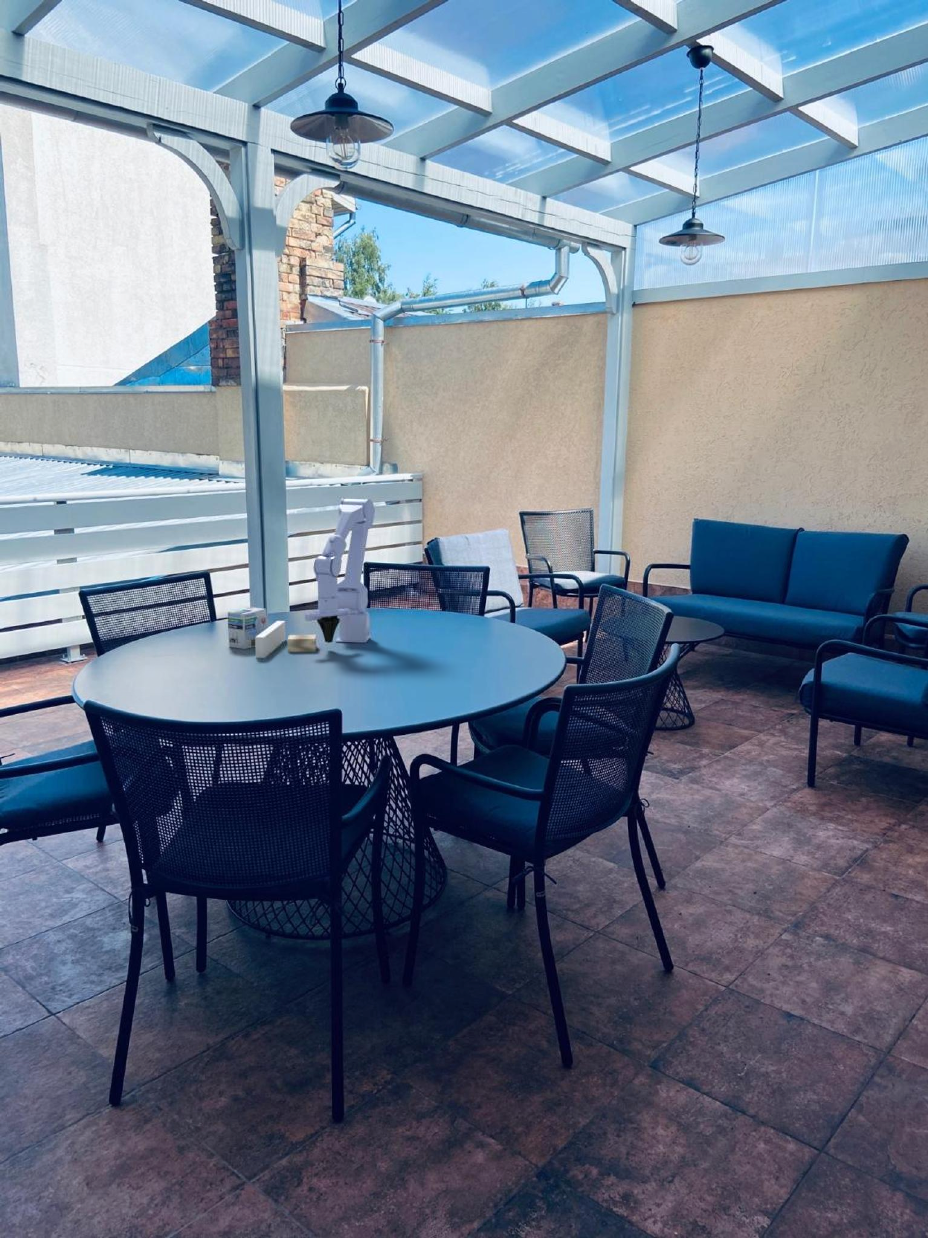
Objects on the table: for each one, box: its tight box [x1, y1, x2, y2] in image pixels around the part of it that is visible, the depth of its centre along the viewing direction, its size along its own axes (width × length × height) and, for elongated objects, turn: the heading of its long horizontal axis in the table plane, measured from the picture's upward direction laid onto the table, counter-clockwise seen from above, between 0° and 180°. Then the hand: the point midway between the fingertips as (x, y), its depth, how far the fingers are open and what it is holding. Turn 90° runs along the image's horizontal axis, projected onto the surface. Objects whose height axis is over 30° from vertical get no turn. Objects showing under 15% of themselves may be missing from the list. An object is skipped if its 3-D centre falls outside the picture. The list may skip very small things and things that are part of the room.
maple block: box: [286, 634, 317, 653], centre depth 266 cm, size 8×6×4 cm
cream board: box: [254, 620, 287, 659], centre depth 267 cm, size 2×24×6 cm, turn 177°
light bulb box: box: [227, 606, 268, 650], centre depth 271 cm, size 11×7×11 cm, turn 154°
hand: (328, 641), depth 266 cm, fingers closed
